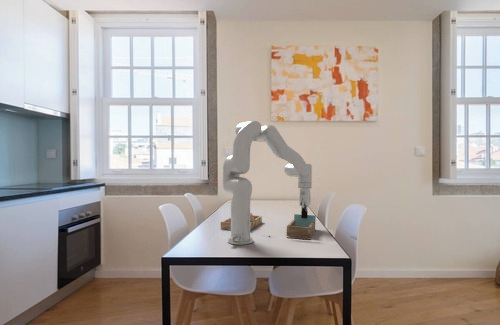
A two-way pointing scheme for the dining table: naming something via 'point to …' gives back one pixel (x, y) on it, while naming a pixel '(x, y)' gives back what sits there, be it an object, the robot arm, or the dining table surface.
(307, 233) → the box
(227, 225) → the vegetable crate
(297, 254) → the dining table surface
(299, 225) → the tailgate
